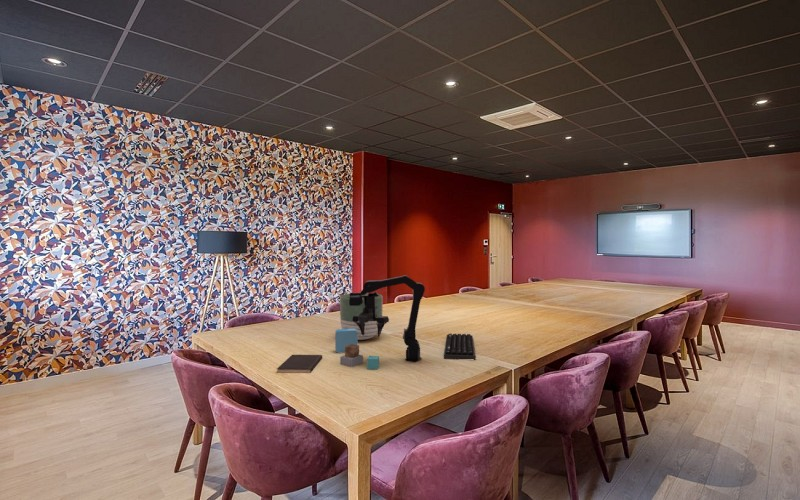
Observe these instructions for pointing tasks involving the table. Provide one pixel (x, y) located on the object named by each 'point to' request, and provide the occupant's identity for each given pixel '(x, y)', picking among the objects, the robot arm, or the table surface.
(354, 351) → the walnut cube
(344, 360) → the slate base block
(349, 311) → the planter
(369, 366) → the teal cube
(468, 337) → the computer keyboard
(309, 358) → the hardcover book
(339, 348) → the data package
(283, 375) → the table surface
